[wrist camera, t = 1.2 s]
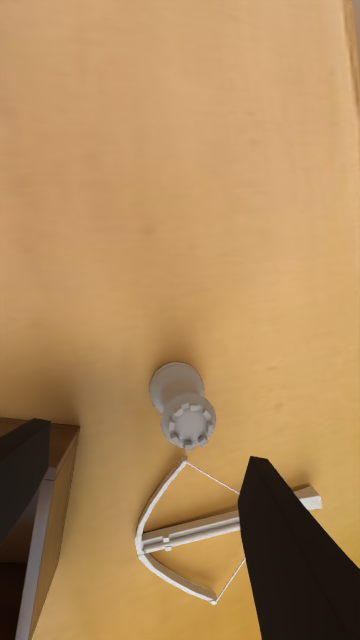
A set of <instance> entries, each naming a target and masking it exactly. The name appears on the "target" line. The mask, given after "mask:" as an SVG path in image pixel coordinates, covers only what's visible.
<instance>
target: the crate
mask: <svg viewBox="0 0 360 640" xmlns="http://www.w3.org/2000/svg"><path fill="white" fill-rule="evenodd" d="M26 422H28V421H27V420H17V419H8V418H0V437H2V436H3V435H5V434H7V433H9V432H10V431H12V430H14V429H16V428H17V427H19V426H21V425H23V424H24V423H26ZM79 432H80V426H72V425H63V424H54V423H51V432H50V449H49V465H48V470H47V472H46V474H45V476H44V478H43V480H42V482H41V484H40V486H39V487H38V489H37V491H36V493H35V495H34V496H33V498H32V500H31V502H30V503H29V505H28V506H27V508H26V509H25V511H24V512H23V514H22V515H21V517H20V518H19V520H18V521H17V523H16V524H15V526H14V527H13V529H12V530H11V531H10V533H9V534H8V536H7V537H6V539H5V540H4V542H3V543H2V545H1V546H0V640H31V639H32V636H33V634H34V631H35V628H36V625H37V622H38V619H39V616H40V614H41V611H42V608H43V605H44V602H45V599H46V597H47V594H48V591H49V588H50V585H51V582H52V580H53V577H54V574H55V571H56V568H57V566H58V560H59V554H60V548H61V542H62V536H63V529H64V523H65V517H66V511H67V505H68V499H69V493H70V487H71V481H72V475H73V469H74V463H75V456H76V450H77V444H78V438H79Z"/></svg>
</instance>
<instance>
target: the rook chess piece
mask: <svg viewBox="0 0 360 640" xmlns="http://www.w3.org/2000/svg"><path fill="white" fill-rule="evenodd" d="M149 392H150V395H151V399H152V402H153V405H154V406H155V408H156V409H157V410H158V411H159V412H160V413H161V414H162V417H161V427H162V431H163V434H164V436H165V437H166V438H167V439H168V440H169V442H170V443H172V444H174V445H176V446H178V447H180V448H184V450H193V447H196V446H199V445H200V446H201V448H202V447H203V446H204V445H205V444H206V443H208V440H207V439H208V438H209V437H210V436H211V434H213V430H214V428H215V422H216V415H215V412H214V408H213V406H212V405H211V404H210V402H209V401H208V400H207V399H206V398H204V397H203V395H204V386H203V382H202V379H201V377H200V375H199V374H198V372H197V371H196V370H195V369H194V368H193V367H191V366H190V365H188V364H186V363H180V362H173V363H169V364H166V365H164V366H162V367H161V368H160V369H159V370H157V371H156V372H155V374H154V376H153V378H152V380H151V383H150V391H149Z"/></svg>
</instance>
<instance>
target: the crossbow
mask: <svg viewBox="0 0 360 640" xmlns="http://www.w3.org/2000/svg"><path fill="white" fill-rule="evenodd" d="M187 461H188V458H187V455H186V456H182V457H181V459H180V461H179V462H178V463H177V465H176V466H175V467H174V468H173V469H172V470H171V472H170V473H169V474H168V475H167V476H166V477H165V478H164V480H163V481H162V483H161V484H160V486H159V487H158V489H157V490H156V492H155V493H154V494H153V496H152V497H151V499H150V500H149V502H148V504H147V506H146V508H145V510H144V511H143V513H142V515H141V517H140V519H139V523H138V527H137V529H136V535H135V545H136V549H137V554H138V555H137V556H138V558H139V559H140V561H142V562H143V563H144V564H145V565H146V566H147V568H148V569H149V570H151V571H152V572H154V573H155V574H156V575H158V576H159V577H161V578H162V579H164V580H165V581H167V582H169V583H170V584H172V585H174V586H176V587H178V588H180V589H182V590H183V591H185V592H187V593H189V594H192V595H194V596H197V597H199V598H202V599H205V600H207V601H209V602H210V603H211V604H212V605H214V604H218V602H217V601H218V599H219V598H220V596H221V595H222V593H223V592H224V591H225V589H226V588H227V586H228V585H229V583H230V582H231V580H232V579H233V577H234V576H235V574H236V573H237V571H238V570H239V568H240V567H241V565H242V564H243V562H244V561H245V559H246V558H244V560H243V561H242V562H241V564H240V565H239V567H238V568H237V570H236V571H235V573H234V574H233V576H232V577H231V579H230V580H229V582H228V583H227V585H226V586H225V588H224V589H223V591H222V592H221V594H220V595H219V597H218V598H217V597H216V593H215V592H214V591H212V590H210V589H207V588H205V587H202V586H200V585H197V584H195V583H192V582H190V581H189V580H187V579H185V578H183V577H181V576H179V575H177V574H176V573H174V572H172V571H170V570H169V569H167V568H166V567H165V566H163V565H162V564H160V563H159V562H157V561H156V560H155V559H154V558H153V557H152V556H151V555H150V554H149V553H150V552H154V551H157V550H161V549H165V550H166V551H170V550H171V547H173V546H177V545H181V544H185V543H189V542H193V541H197V540H201V539H205V538H209V537H213V536H217V535H221V534H225V533H229V532H233V531H237V530H240V522H239V512H238V510H236V511H232V512H228V513H224V514H220V515H216V516H212V517H208V518H204V519H200V520H196V521H192V522H188V523H184V524H180V525H176V526H172V527H168V528H164V529H160V530H156V531H152V532H148V533H144V534H142V532H143V528H144V524H145V522H146V520H147V518H148V517H149V515H150V513H151V511H152V509H153V507H154V506H155V504H156V502H157V501H158V500H159V498H160V497H161V495H162V494H163V492H164V491H165V489H166V488H167V487H168V485H169V484H170V482H171V481H172V480H173V479H174V478H175V477H176V475H177V474H178V473H179V472H180V471H181V470H182V468H183V467H184V466H185V465H186V464H189V465H190V466H192V467H194V468H195V469H197V470H199V471H200V472H202V473H204V474H205V475H207V476H209V477H210V478H212V479H214V480H215V481H217V482H219V483H221V484H222V485H224V486H226V487H227V488H229V489H231V490H232V491H234V492H236V493H237V494H239V495H240V493H238V492H237V491H235V490H233V489H232V488H230V487H228V486H227V485H225V484H223V483H222V482H220V481H218V480H217V479H215V478H213V477H212V476H210V475H208V474H207V473H205V472H203V471H202V470H200V469H198V468H197V467H195V466H193V465H192V464H190V463H188V462H187ZM294 494H295V495H296V496H297V497H298V499H299V500H300V501H301V502H302V504H303V505H304V506H305V507H306V509H307V510H312V509H318V508H322V503H321V498H320V495H319V494H318V493H317V491H316V490H315V489H314V488H313V487H312V486H309V487H306V488H303V489H301V490H298V491H295V492H294Z"/></svg>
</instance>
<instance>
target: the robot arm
mask: <svg viewBox="0 0 360 640" xmlns="http://www.w3.org/2000/svg"><path fill="white" fill-rule="evenodd" d="M50 432H51V421H48V420H42V419H36V418H34V419H32V420H30V421H28V422H26V423H24V424H23V425H21V426H19V427H17V428H16V429H14V430H12V431H10V432H9V433H7V434H5V435H3V436H2V437H0V546H1V545H2V543H3V542H4V540H5V539H6V537H7V536H8V534H9V533H10V531H11V530H12V529H13V527H14V526H15V524H16V523H17V521H18V520H19V518H20V517H21V515H22V514H23V512H24V511H25V509H26V508H27V506H28V505H29V503H30V502H31V500H32V498H33V496H34V495H35V493H36V491H37V489H38V487H39V486H40V484H41V482H42V480H43V478H44V476H45V474H46V472H47V470H48V465H49V449H50ZM238 512H239V522H240V531H241V538H242V543H243V548H244V553H245V558H246V563H247V568H248V573H249V577H250V582H251V587H252V592H253V597H254V602H255V606H256V611H257V616H258V621H259V626H260V631H261V637H262V640H360V569H359V568H358V567H357V566H356V565H355V564H354V563H353V561H352V560H351V559H350V558H349V557H348V556H347V555H346V554H345V553H344V552H343V551H342V549H341V548H340V547H339V546H338V545H337V544H336V543H335V542H334V540H333V539H332V538H331V537H330V536H329V535H328V534H327V532H326V531H325V530H324V529H323V528H322V527H321V525H320V524H319V523H318V522H317V521H316V520H315V518H314V517H313V516H312V515H311V514H310V512H309V511H308V510H307V509H306V507H305V506H304V505H303V504H302V502H301V501H300V500H299V499H298V497H297V496H296V495H295V494H294V492H293V491H292V490H291V488H290V487H289V486H288V485H287V483H286V482H285V481H284V479H283V478H282V477H281V476H280V474H279V473H278V472H277V470H276V469H275V468H274V467H273V465H272V464H271V463H270V462H269V460H268V459H265V458H259V457H254V456H250V459H249V463H248V466H247V470H246V473H245V477H244V481H243V484H242V488H241V491H240V495H239V498H238Z"/></svg>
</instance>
